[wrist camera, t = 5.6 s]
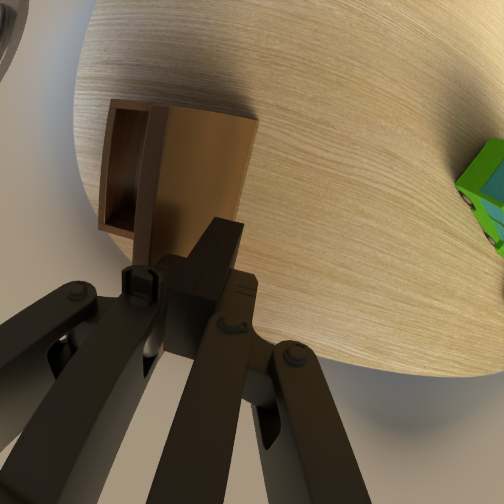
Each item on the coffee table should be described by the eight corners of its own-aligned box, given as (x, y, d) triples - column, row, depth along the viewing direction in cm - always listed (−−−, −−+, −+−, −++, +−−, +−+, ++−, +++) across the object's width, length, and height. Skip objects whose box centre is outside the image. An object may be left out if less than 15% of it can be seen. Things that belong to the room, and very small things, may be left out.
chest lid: (134, 372, 13) (147, 378, 13) (150, 103, 8) (171, 106, 8) (213, 264, 25) (222, 267, 25) (246, 118, 20) (257, 120, 20)
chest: (128, 209, 32) (97, 229, 26) (144, 101, 26) (110, 99, 20) (231, 235, 32) (218, 263, 26) (259, 120, 27) (252, 119, 20)
